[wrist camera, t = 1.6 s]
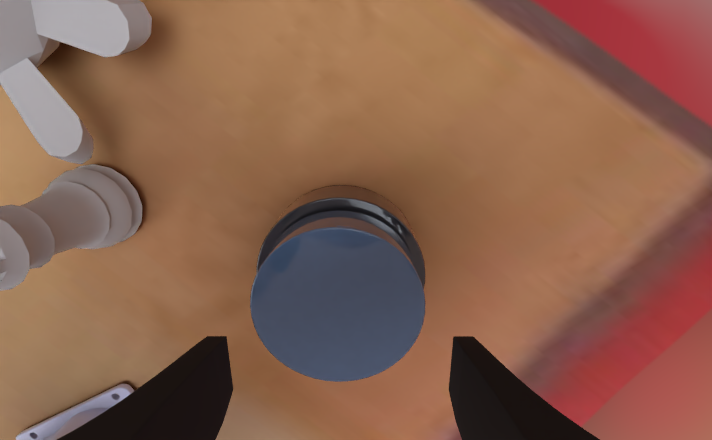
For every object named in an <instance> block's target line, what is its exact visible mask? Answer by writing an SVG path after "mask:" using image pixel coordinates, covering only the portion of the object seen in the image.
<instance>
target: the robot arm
mask: <svg viewBox="0 0 712 440" xmlns="http://www.w3.org/2000/svg"><path fill="white" fill-rule="evenodd" d="M232 391H233V384H232V376H231V368H230V361H229V353H228V345H227V337H226V336H207V337H206V338H204V339H203V340H202V341H200V342H199V343H198V344H196V345H195V346H194V347H192V348H191V349H190V350H189V351H187V352H186V353H185V354H184V355H182V356H181V357H180V358H178V359H177V360H176V361H175V362H173V363H172V364H171V365H169V366H168V367H167V368H165V369H164V370H163V371H162V372H160V373H159V374H158V375H156V376H155V377H154V378H152V379H151V380H150V381H148V382H147V383H145V384H144V385H143V386H141V387H140V388H138V389H137V390H136V391H134V390H133V388H132V387H131V386H130V385H128V384H120V385H117V386H115V387H113V388H111V389H109V390H107V391H105V392H103V393H101V394H99V395H97V396H95V397H92V398H90V399H88V400H86V401H84V402H82V403H80V404H78V405H76V406H74V407H72V408H70V409H68V410H65V411H63V412H61V413H59V414H57V415H55V416H53V417H51V418H49V419H47V420H45V421H43V422H40V423H38V424H36V425H34V426H32V427H30V428H28V429H26V430H24V431H22V432H21V433H20V434H18V435H17V436H16V440H215V439H216V437H217V435H218V432H219V430H220V428H221V426H222V423H223V421H224V418H225V415H226V411H227V408H228V405H229V402H230V398H231V395H232ZM449 393H450V397H451V402H452V407H453V411H454V415H455V419H456V423H457V426H458V429H459V432H460V435H461V438H462V440H600V439H598V438H596V437H595V436H593V435H592V434H590V433H589V432H587V431H586V430H584V429H583V428H581V427H580V426H579V425H577V424H576V423H574V422H573V421H571V420H570V419H569V418H567V417H566V416H564V415H563V414H562V413H560V412H559V411H558V410H556V409H555V408H554V407H552V406H551V405H550V404H548V403H547V402H546V401H545V400H543V399H542V398H541V397H540V396H538V395H537V394H536V393H535V392H533V391H532V390H531V389H530V388H529V387H527V386H526V385H525V384H524V383H523V382H522V381H520V380H519V379H518V378H517V377H516V376H515V375H514V374H513V373H511V372H510V371H509V370H508V369H507V368H506V367H505V366H504V365H503V364H502V363H501V362H499V361H498V360H497V359H496V358H495V357H494V356H493V355H492V354H491V353H490V352H489V351H488V350H487V349H486V348H485V347H484V346H483V345H482V344H481V343H479V342H478V341H477V340H476V339H475V338H474V337H454V338H453V349H452V360H451V371H450V382H449ZM117 394H118V395H117Z"/></svg>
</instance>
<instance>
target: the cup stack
mask: <svg viewBox="0 0 712 440" xmlns="http://www.w3.org/2000/svg"><path fill="white" fill-rule="evenodd" d="M424 285H425V265H424V260H423V256H422V252H421V250H420V247H419V245H418V243H417V240H416V238H415V235H414V233H413V231H412V228H411V226H410V224H409V222H408V221H407V219H406V217H405V216H404V215H403V214H402V212H401V211H400V210H399V209H398V208H397V207H396V206H395V205H394V204H393V203H392V202H390V201H389V200H387V199H386V198H385V197H383V196H381V195H379V194H377V193H375V192H373V191H370V190H368V189H365V188H361V187H356V186H348V185H334V186H328V187H323V188H319V189H316V190H313V191H311V192H309V193H306V194H305V195H303V196H301V197H300V198H298V199H297V200H295V201H294V202H293V203H292V204H290V205H289V206H288V207H287V208H286V210H285V211H284V212H283V213H282V214H281V216H280V217H279V219H278V220H277V222H276V223H275V225H274V226H273V227H272V229H271V230H270V232H269V233H268V235H267V236H266V238H265V240H264V242H263V244H262V246H261V249H260V252H259V255H258V260H257V269H256V276H255V279H254V282H253V285H252V290H251V296H250V308H251V316H252V320H253V323H254V327H255V329H256V331H257V334H258V336H259V338H260V339H261V341H262V342H263V344H264V345H265V347H266V348H267V349H268V350H269V352H270V353H271V354H272V355H273V356H274V357H275V358H277V359H278V360H279V361H280V362H282V363H283V364H284V365H286V366H287V367H289V368H291V369H292V370H294V371H296V372H298V373H300V374H303V375H305V376H308V377H312V378H315V379H320V380H325V381H335V382H338V381H353V380H359V379H363V378H367V377H370V376H373V375H376V374H378V373H380V372H382V371H384V370H386V369H388V368H389V367H391V366H392V365H394V364H395V363H396V362H398V361H399V360H400V359H401V358H402V357H403V356H404V355H405V354H406V353H407V352H408V351H409V350H410V348H411V347H412V345H413V344H414V343H415V341H416V339H417V337H418V335H419V333H420V331H421V328H422V325H423V321H424V316H425V295H424Z"/></svg>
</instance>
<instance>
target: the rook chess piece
mask: <svg viewBox="0 0 712 440" xmlns="http://www.w3.org/2000/svg"><path fill="white" fill-rule="evenodd" d="M141 222H142V204H141V201H140V198H139V195H138V192H137V191H136V189H135V188H134V187H133V186H132V184H131V183H130V182H129V181H128V179H127V178H126V177H124V176H123V175H121V174H120V173H118V172H116V171H115V170H113V169H112V168H109V167H104V166H100V165H95V164H92V165H85V166H79V167H77V168H76V169H74V170H69V171H65V172H64V173H63V174H61V175H60V176H59V177H57V178H56V179H54V180H53V181H52V182H50V184H49V186H48V188H47V189H46V190H44V191H43V194H42V196H40V197H38V198H36V199H34V200H32V201H30V202H28V203H26V204H24V205H21V206H15V205H6V206H0V291H1V290H8V289H12V288H14V287H15V286H17V285H18V284H20V283H21V282H23V281H24V279H25V277H26V275H27V273H28V271H29V269H32V268H39V267H42V266H43V265H44V264H46V263H47V262H49V261H50V259H51V257H52V256H53V255H55V254H57V253H60V252H63V251H66V250H69V249H72V248H80V249H82V248H88V249H97V248H104V247H110V246H113V245H115V244H116V243H118V242H122V241H124V240H126V239H127V238H129V237H130V236H132V235H133V234H135V232H136V231H137V229H138V227H139V225H140V224H141Z"/></svg>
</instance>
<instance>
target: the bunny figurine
mask: <svg viewBox="0 0 712 440" xmlns="http://www.w3.org/2000/svg"><path fill="white" fill-rule="evenodd" d="M151 25H152V17H151V16H150V14H149V12H148V10H147V8H146V7H145V5H144V3H143V2H141V1H139V0H0V85H2V87H3V88H4V90H5V91H6V93H7V95H8V96H9V98H10V99H11V101H12V103H13V104H14V106H15V107H16V109H17V111H18V112H19V114H20V115H21V117H22V118H23V120H24V121H25V123H26V125H27V126H28V128H29V129H30V131H31V132H32V134H33V135H34V137H35V139H36V140H37V142H38V143H39V144H40V145H41V146H42V147H43V149H44V150H45V151H46V152H47V153H48V154H49V155H51V156H54V157H56V158H59V159H62V160H65V161H67V162H72V163H77V164H83V163H84V162H86V161H87V160H89V159H90V158H91V156H92V153H93V138H92V137H91V135H90V133H89V131H88V130H87V128H86V126H85V125H84V124H83V122H82V121H81V120H80V118H79V117H78V116H77V114H76V113H75V112H74V111H73V110H72V109H71V108H70V106H69V105H68V104H67V103H66V102H65V101H64V99H63V98H62V97H61V96H60V95H59V94H58V93H57V91H56V90H55V89H54V88H53V87H52V86H51V84H50V83H49V82H48V81H47V80H46V79H45V77H44V76H43V75H42V74H41V73H40V72H39V71H38V69H37V67H38V66H39V65H40V64H41V63H42V62H44V61H45V60H46V59H47V58H48V57H49V56H50V55H51V54H52V53H53V52H54V51H55V50H56V49H57V48H58V47H59V42H62V43H65V44H68V45H71V46H74V47H77V48H80V49H82V50H85V51H88V52H91V53H94V54H97V55H100V56H103V57H111V56H118V55H121V54H124V53H127V52H130V51H133V50H136V49H138V48H139V47H140V46H142V45H143V44H144V43H145V42H146V41H147V39H148V38H149V37H150V35H151Z"/></svg>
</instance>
